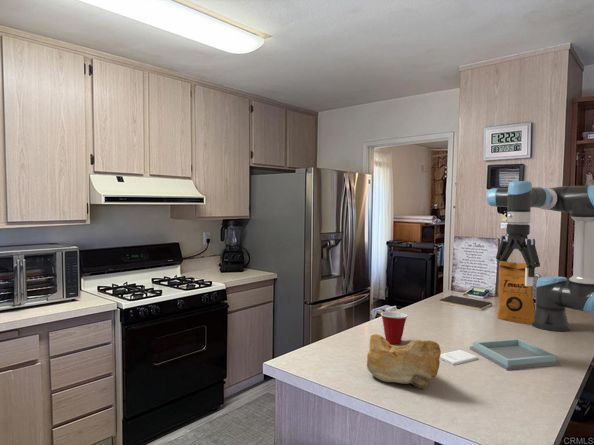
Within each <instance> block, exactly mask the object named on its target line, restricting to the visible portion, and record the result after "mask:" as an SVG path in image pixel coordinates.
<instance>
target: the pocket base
mask: <svg viewBox="0 0 594 445" xmlns="http://www.w3.org/2000/svg"><path fill="white" fill-rule="evenodd" d="M469 350H471V351H472V352H474V353H475V354H478V355H479V356H481V357H483V358H485V359H487V360H488V361H490V362H492V363H494V364H495V365H497V366H499V367H500V368H503V369H505V371H513V370H520V369H521V370H522V369H533V368H542V367H553V366H554V367H555V366H561V361H559V360H557V359H558V355H557V354H554V353H551V352H549V351H547V350H545V349H543V348H540V347H538V346H535V345H533V344H531V343H529V342H528V341H527V342H526V341H525V340H522V339H520V338H510V339H497V340H494V339H493V340H484V341H483V340H482V341H473V343H472V346H469Z"/></svg>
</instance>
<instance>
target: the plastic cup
mask: <svg viewBox="0 0 594 445" xmlns="http://www.w3.org/2000/svg"><path fill="white" fill-rule="evenodd" d="M380 315H381V319H382V324H383V331H384V337H385V338H384V339H385V340H386V341H388V342H389V343H390V344H391V345H394V346H399V345H401V343H402V339H403V338H402V337H403V336H404V335H403V333H404V330H405V324H406V320H407V318H408V314H406V313H402V312H398V311H382V312H380Z"/></svg>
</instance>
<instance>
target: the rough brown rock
mask: <svg viewBox="0 0 594 445" xmlns="http://www.w3.org/2000/svg"><path fill="white" fill-rule="evenodd" d="M369 338H370V339H369V351H368V353H367V355H366V356H367V357H366V358H367V360H366V361H367V362H366V368H367V370H368V372H370V373H371V375H373V377H374V378H376V379H378V380H379V381H382V382H386V383H396V384H397V383H398V384H401V385H402V384H403V385H404V384H412V385H413V386H414V387H416V388H418V389H421V388H422V389H425V388H427V386H428V384H429V382H430V380H431V379H432V378H436V377H437V376H438V372H439V368H440V363H441V362H440V359H439V358H440V354H442V353H441V347H440V344H439V343H437V342H436V341H433V340H429V339H428V340H421V339H415V340H410V342H408V343H407V344H405V345H404V344H403V345H391V344H390V343H389V342H388V341H386V338H384V337H383V336H382V335H381V334H376V333H375V334H372V335H370V337H369ZM422 389H421V390H422Z"/></svg>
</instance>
